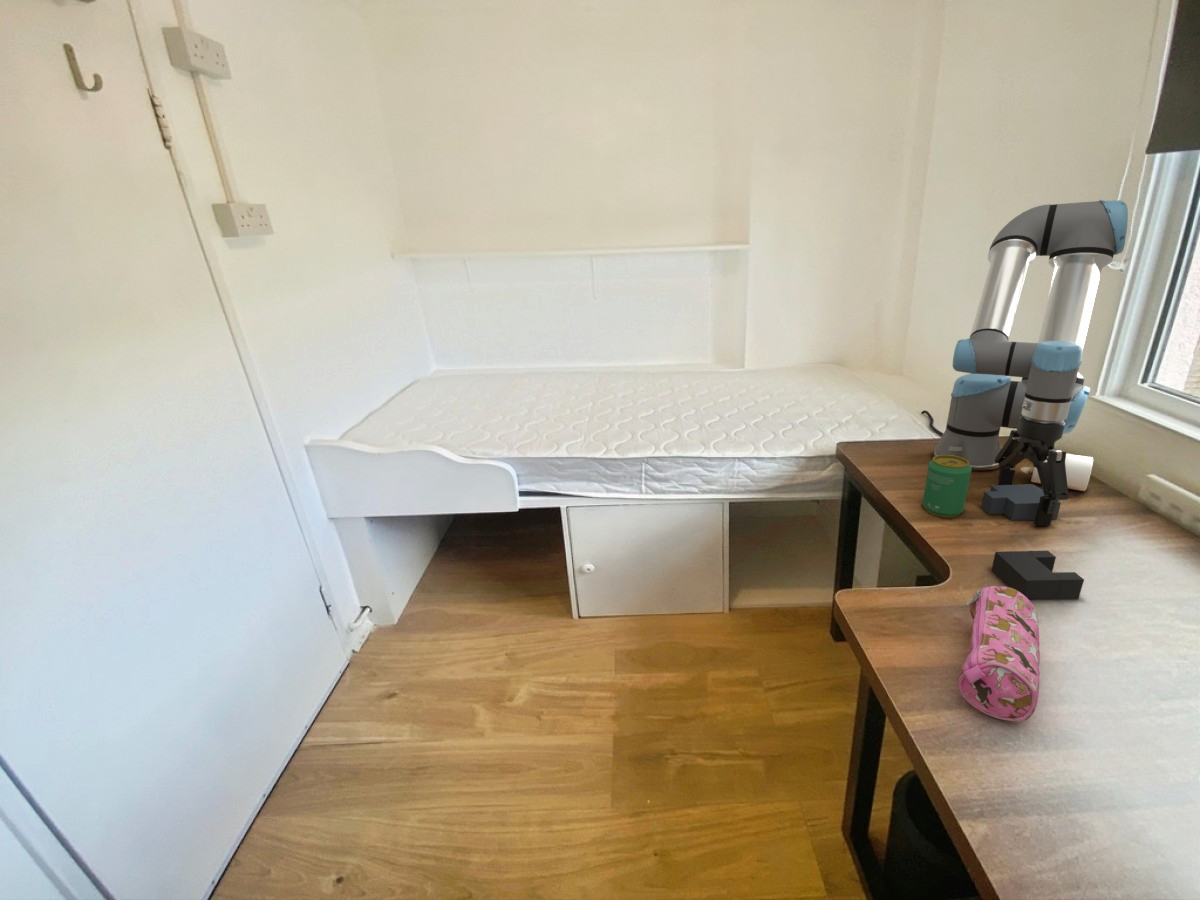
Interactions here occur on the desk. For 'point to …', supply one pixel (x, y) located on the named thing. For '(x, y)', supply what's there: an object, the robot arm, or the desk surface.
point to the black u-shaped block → (1036, 575)
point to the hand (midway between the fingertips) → (1020, 510)
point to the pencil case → (1002, 655)
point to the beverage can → (946, 485)
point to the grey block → (1014, 501)
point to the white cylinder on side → (1073, 471)
